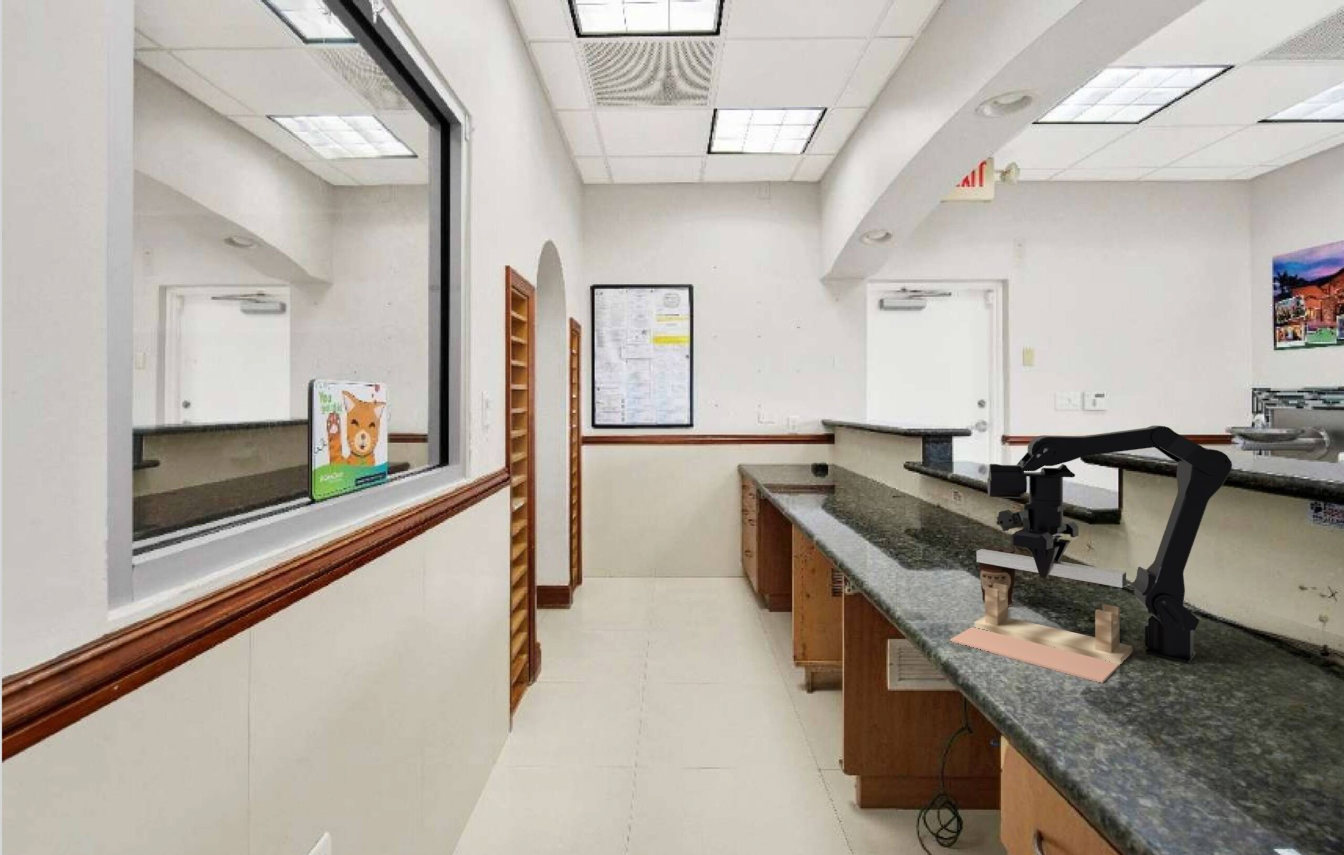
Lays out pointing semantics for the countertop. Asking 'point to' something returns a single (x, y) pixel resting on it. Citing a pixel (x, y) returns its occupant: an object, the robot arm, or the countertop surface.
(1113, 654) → the hook stand
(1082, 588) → the countertop surface
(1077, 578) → the steel rail
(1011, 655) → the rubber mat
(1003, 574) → the coffee cup
